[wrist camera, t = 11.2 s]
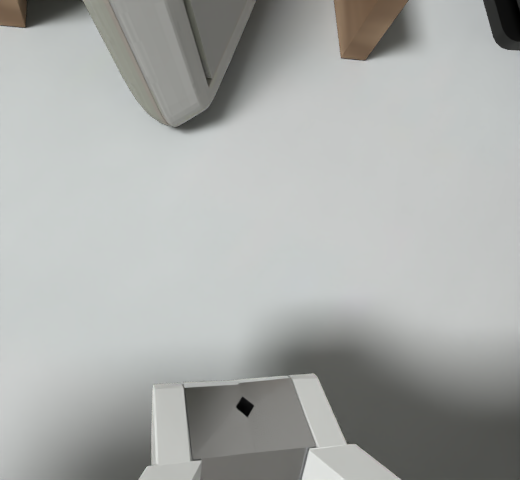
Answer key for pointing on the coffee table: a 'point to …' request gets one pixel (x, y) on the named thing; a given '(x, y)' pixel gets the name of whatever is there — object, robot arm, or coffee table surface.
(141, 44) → the digital clock
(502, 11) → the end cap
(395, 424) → the coffee table surface
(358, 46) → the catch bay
